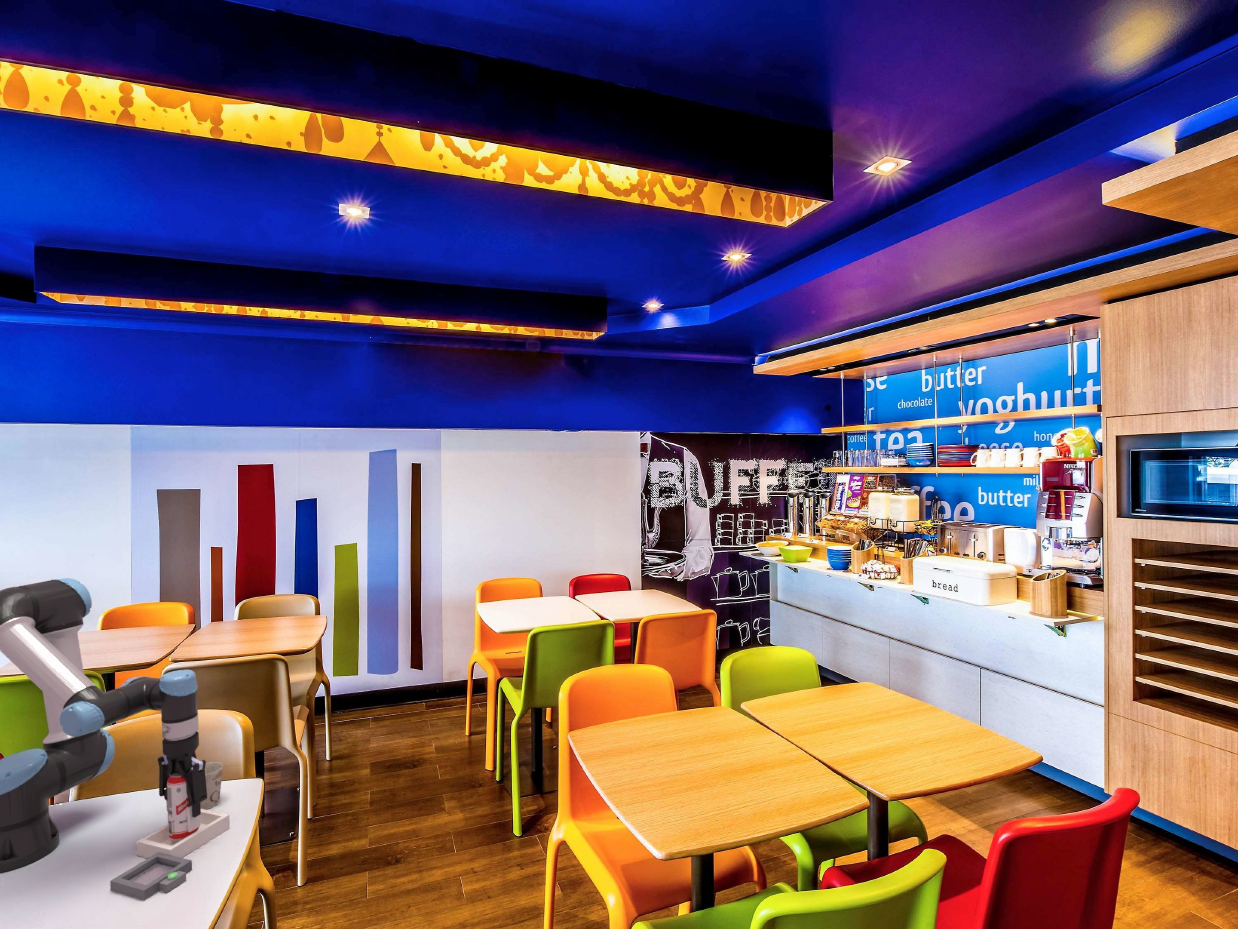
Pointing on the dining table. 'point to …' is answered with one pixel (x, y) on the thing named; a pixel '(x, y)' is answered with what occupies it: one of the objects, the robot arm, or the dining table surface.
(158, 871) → the plate
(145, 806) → the dining table surface
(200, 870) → the dining table surface
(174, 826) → the beer can
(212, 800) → the mug
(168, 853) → the cream rectangular tray
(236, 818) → the dining table surface
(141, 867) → the frame
